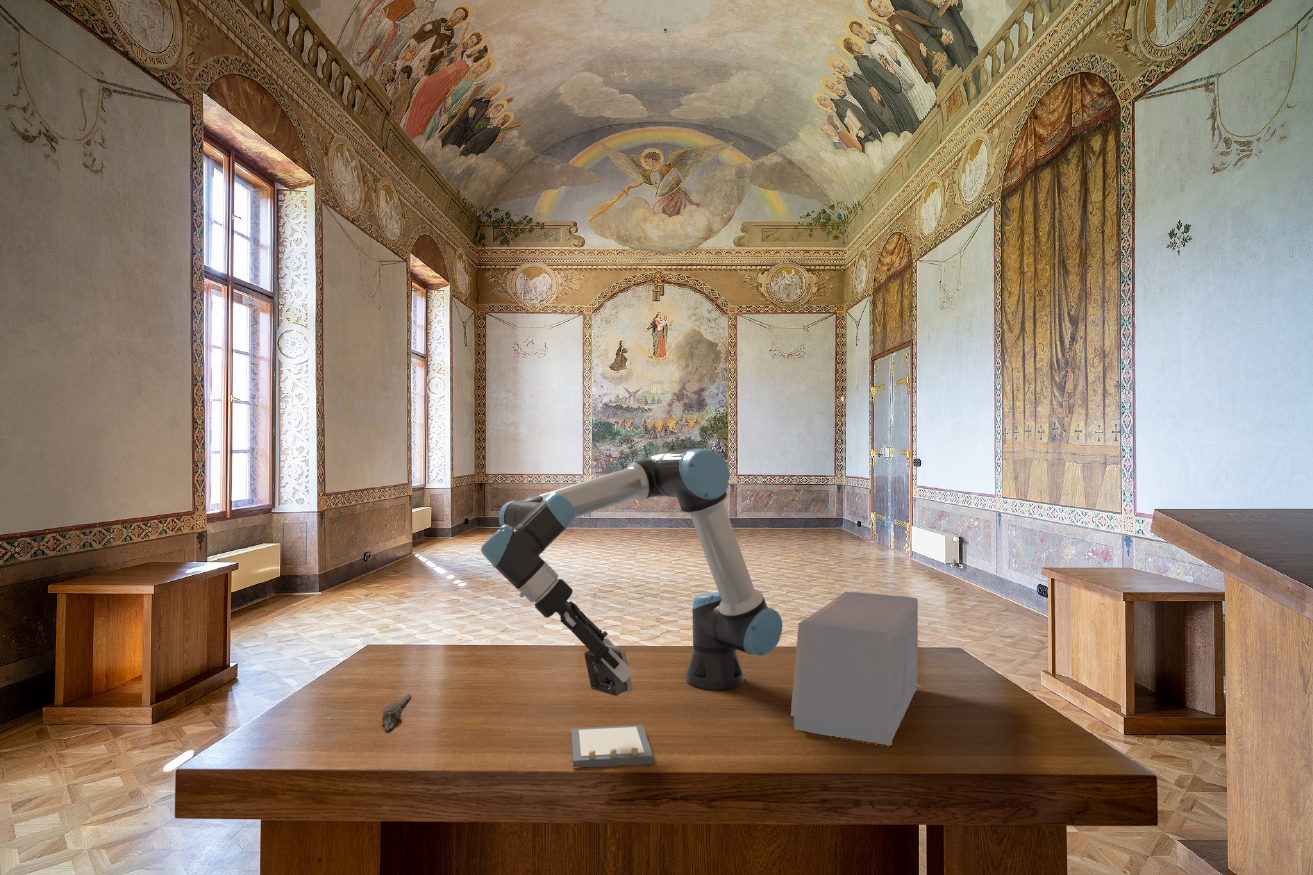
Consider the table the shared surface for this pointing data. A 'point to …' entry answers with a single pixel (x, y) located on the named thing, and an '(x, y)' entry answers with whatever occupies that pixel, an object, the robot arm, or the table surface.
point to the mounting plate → (610, 746)
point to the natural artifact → (393, 712)
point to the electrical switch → (607, 674)
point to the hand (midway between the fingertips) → (625, 670)
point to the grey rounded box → (856, 667)
